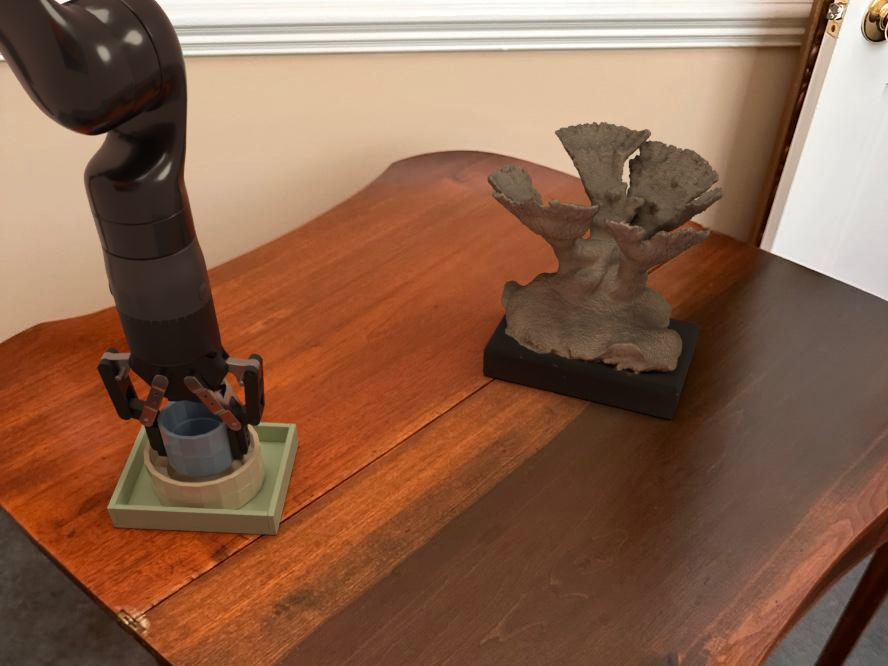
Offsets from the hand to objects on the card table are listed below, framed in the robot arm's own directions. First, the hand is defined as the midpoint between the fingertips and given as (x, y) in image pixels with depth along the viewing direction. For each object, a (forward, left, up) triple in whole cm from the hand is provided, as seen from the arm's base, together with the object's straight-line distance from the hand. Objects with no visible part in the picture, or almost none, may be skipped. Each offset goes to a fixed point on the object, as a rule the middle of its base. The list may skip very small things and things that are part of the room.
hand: (202, 452), depth 82 cm
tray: (0, 0, -4) cm, 4 cm away
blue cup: (0, 0, -1) cm, 1 cm away
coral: (+38, +26, -4) cm, 46 cm away
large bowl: (0, 0, -4) cm, 4 cm away
